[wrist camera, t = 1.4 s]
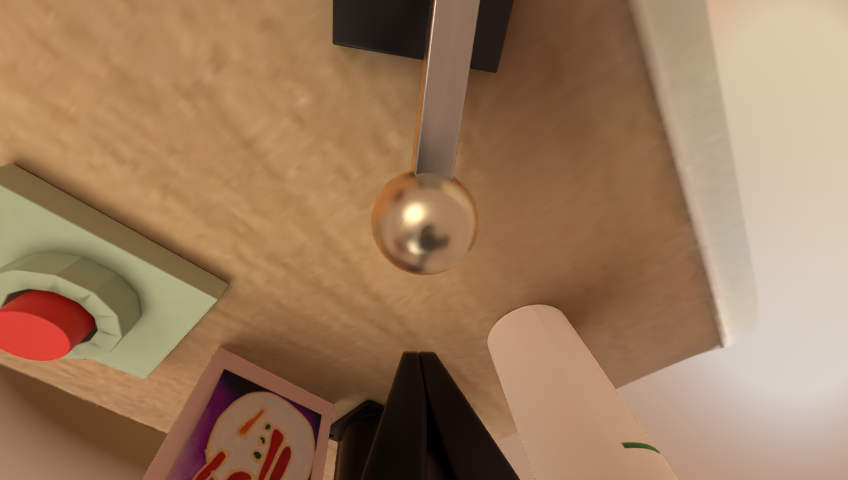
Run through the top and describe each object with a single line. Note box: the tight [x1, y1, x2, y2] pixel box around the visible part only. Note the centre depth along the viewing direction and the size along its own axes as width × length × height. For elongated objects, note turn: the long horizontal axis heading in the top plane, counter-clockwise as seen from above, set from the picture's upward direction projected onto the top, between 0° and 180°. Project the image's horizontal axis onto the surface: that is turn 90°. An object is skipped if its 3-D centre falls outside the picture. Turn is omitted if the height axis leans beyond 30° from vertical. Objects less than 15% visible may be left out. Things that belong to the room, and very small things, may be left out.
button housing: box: [0, 164, 229, 379], centre depth 19 cm, size 10×12×4 cm
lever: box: [371, 0, 480, 275], centre depth 8 cm, size 13×3×3 cm, turn 171°
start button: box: [0, 290, 95, 361], centre depth 17 cm, size 4×4×2 cm
